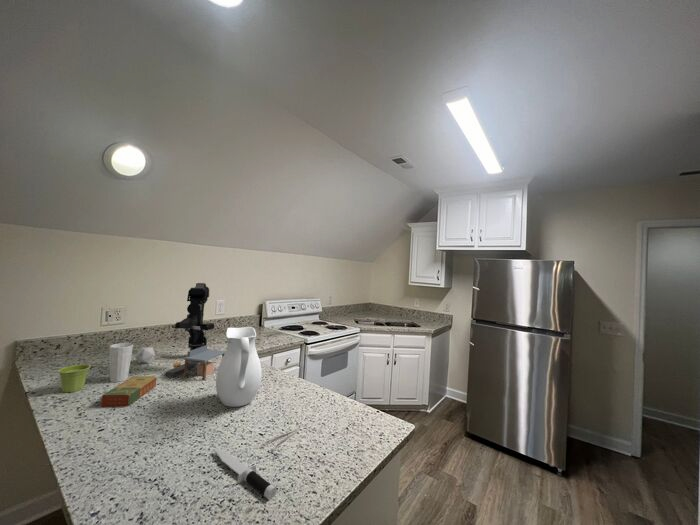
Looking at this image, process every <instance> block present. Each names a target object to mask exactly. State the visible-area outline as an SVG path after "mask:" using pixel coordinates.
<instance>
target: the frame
mask: <svg viewBox="0 0 700 525" xmlns="http://www.w3.org/2000/svg"><path fill="white" fill-rule="evenodd" d="M224 354H225V353H224ZM224 354H222V355H221V356H222V358H223V356H224ZM222 358H221V359H222ZM188 362H195V363H199V364H200V363H203V375H201V376H202V378H201V380H202V381H206V379H207V378H206V377H207V376H206V365H207V362H209V360H208V361H206V362H200V361H191V360H184V364H185V367H184V373H183V378H184V379H186V378H188V372H189V371H188Z"/></svg>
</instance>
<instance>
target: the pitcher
mask: <svg viewBox="0 0 700 525" xmlns="http://www.w3.org/2000/svg"><path fill="white" fill-rule="evenodd" d="M225 336H226V340H227V344H226V349H225V351H226V352H225V354H224V356H223V358H221V361H220V363H219V366H218V368H217V372H216V378H215V389H216V393H217V395H218V398H219V400H220V401H221V403H222V404H223V405H224V406H226V407H229V408H232V407H233V408H237V407H242V406H243V407H244V406H246V405H248V404H250V403H252V401H254V399H255V397H256V396H257V393H258V391H259V389H260V387H261V384H262V379H263V378H262V374H263V372H262V365H261V360H260V358H259V355H258V354H259V353H258V352H257V349H256V342H255V341H256V338H257V333H256V329H255V327H252V326H245V327H244V326H243V327H228V328H227V329H226V331H225Z"/></svg>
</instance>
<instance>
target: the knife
mask: <svg viewBox="0 0 700 525" xmlns="http://www.w3.org/2000/svg"><path fill="white" fill-rule="evenodd" d="M212 450H213V451H214V452H215V453H216V455H217V456H218V458H219V460H220V461H221V462H222V463H223V464H225V465H226V466H227V467H229V469H231V470H232V471H233V472H235V473H236V474H237V484H238V483H239V484H241V483H243V482H246V483H247V484H249V486H251V487H252V488H254V489H255V490H256V491H257V492H258V493H260V494H261V495H262V496H263V497H264V498H266V499H267V500H268V501H270V500H272V499H273V498H274V497H275V496H276V495H277V492H278V491H277V488H276V487H275V485H272V484H271V483H270V482H268V480H266V479H265V478H263V477H262V476H260V475H259V473H257V465H255V464H253V465H250V466H249V467H248V466H246V465H245V464H244V463H242V462H241V461H240V460H239V459H237V457H234V456H233V455H232V454H231V453H229V452H227V451H226V450H223V449H219V448H218V449H217V448H212ZM242 481H243V482H242ZM240 482H241V483H240Z"/></svg>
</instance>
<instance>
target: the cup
mask: <svg viewBox="0 0 700 525" xmlns="http://www.w3.org/2000/svg"><path fill="white" fill-rule="evenodd" d="M133 349H134V343H133V342H122V343H121V342H120V343H115V344H114V343H113V344H111V345H109V349H108V350H109V376H110V377H109V380H110V382H111V383H120V382H125V381H126V380H128V379H129V372H130V366H131V360H132V355H133Z"/></svg>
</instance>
